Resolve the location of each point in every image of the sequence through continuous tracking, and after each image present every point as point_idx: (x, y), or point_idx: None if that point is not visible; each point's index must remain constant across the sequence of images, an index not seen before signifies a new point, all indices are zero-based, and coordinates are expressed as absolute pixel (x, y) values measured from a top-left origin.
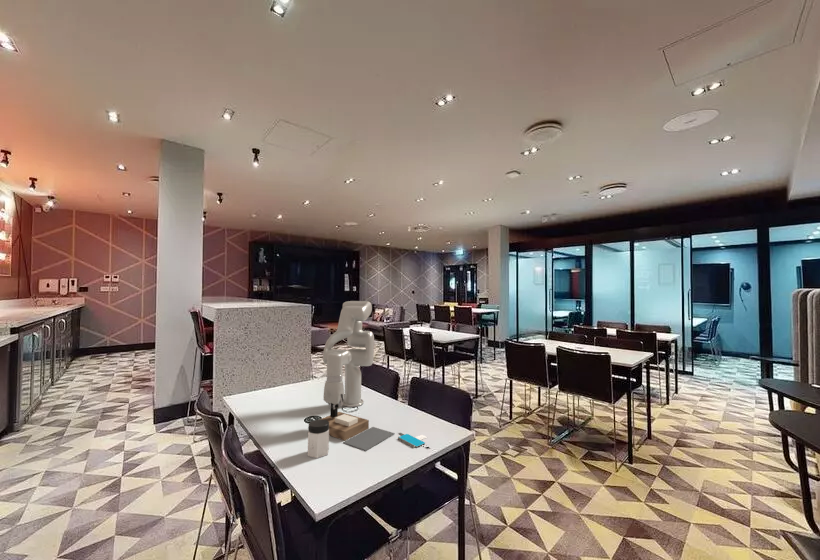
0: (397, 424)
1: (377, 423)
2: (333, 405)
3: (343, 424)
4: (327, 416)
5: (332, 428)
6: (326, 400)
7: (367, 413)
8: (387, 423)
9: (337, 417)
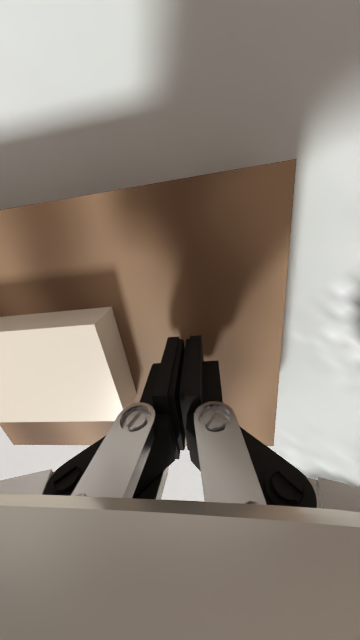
0: (22, 475)
1: (75, 452)
2: (127, 461)
3: (14, 317)
4: (276, 346)
5: (9, 209)
6: (330, 584)
7: (199, 494)
8: (51, 467)
9: (87, 345)
